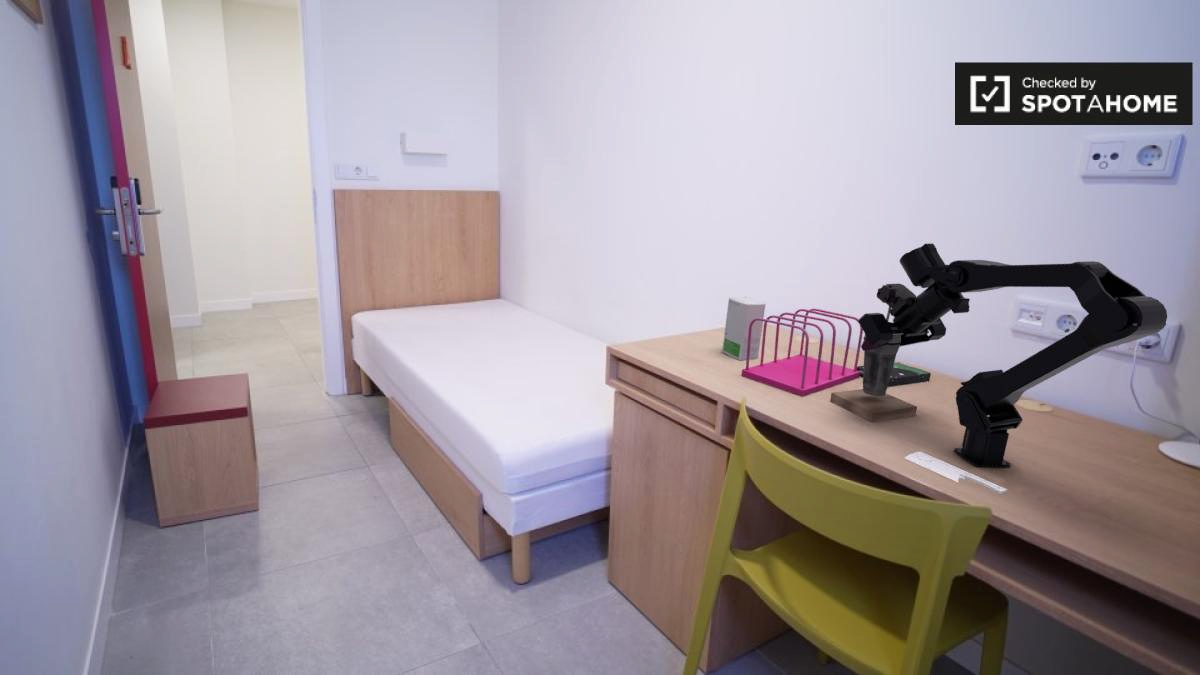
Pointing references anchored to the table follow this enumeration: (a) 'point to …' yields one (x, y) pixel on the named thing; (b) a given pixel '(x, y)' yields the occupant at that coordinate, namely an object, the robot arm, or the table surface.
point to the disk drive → (904, 375)
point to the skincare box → (743, 327)
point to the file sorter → (802, 359)
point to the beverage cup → (879, 365)
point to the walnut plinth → (873, 405)
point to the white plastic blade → (950, 470)
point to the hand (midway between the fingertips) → (875, 347)
